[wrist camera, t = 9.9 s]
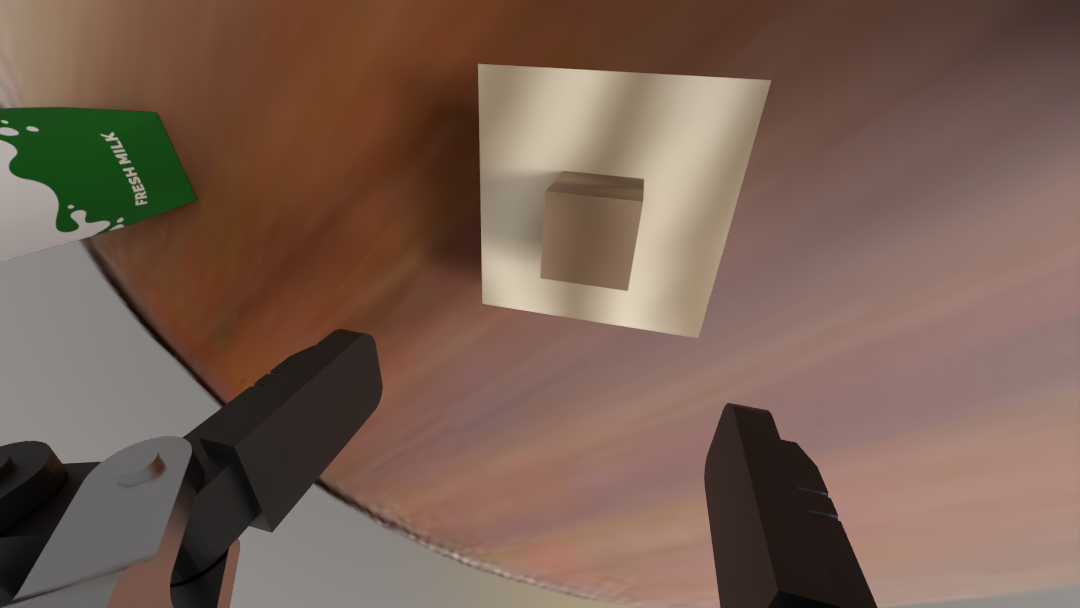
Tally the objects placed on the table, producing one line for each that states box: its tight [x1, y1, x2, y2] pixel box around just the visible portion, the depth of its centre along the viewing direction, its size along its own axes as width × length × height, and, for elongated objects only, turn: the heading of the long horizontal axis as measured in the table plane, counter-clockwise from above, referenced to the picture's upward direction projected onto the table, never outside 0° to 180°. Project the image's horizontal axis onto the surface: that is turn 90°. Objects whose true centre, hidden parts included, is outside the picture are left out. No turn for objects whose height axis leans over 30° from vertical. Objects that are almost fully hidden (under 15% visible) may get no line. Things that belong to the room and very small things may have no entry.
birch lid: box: [478, 64, 771, 338], centre depth 20 cm, size 13×13×6 cm
